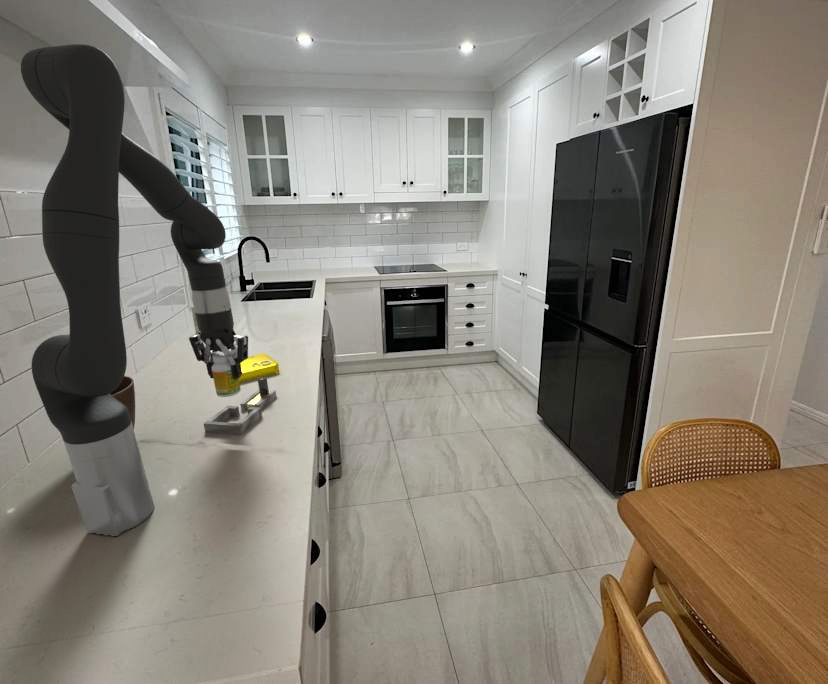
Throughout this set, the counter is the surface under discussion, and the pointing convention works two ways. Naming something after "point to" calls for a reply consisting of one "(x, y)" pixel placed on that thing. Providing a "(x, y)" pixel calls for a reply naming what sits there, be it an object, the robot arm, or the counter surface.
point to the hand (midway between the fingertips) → (226, 377)
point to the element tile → (258, 367)
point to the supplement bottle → (224, 376)
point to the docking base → (254, 413)
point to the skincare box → (195, 320)
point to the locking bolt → (263, 392)
